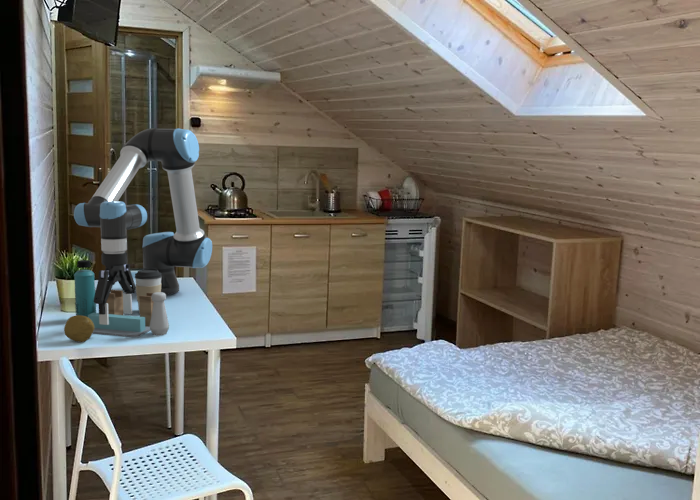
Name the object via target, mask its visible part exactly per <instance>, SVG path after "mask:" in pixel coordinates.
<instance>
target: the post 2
mask: <svg viewBox="0 0 700 500" xmlns="http://www.w3.org/2000/svg"><path fill="white" fill-rule="evenodd" d="M152 294H153V293H147V296H139V305H140V313H139V317H145V326H147V327H150V322H151V316H152V310H153V304H154V301H152Z"/></svg>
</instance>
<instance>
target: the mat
mask: <svg viewBox="0 0 700 500" xmlns="http://www.w3.org/2000/svg"><path fill="white" fill-rule="evenodd" d="M148 332H149V333H150V332H151V330H150V327H147V326H145V330H144V331H142V332H134V331H123V330H112V329H101V328H94V331H93V333H92V334H99V335H106V336H108V335H109V336H117V335H118V337H129V338H130V337H131V338H139V337H141V336H143V335H145V334H147V333H148Z"/></svg>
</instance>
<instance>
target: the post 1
mask: <svg viewBox="0 0 700 500" xmlns="http://www.w3.org/2000/svg"><path fill="white" fill-rule="evenodd" d="M123 294H124V291H123V289H122V290H119V289H111V291H110V294H109V297H108V299H107V302H106V303H108V314H114V315H125V314H123ZM103 300H104V299H103Z"/></svg>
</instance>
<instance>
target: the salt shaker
mask: <svg viewBox="0 0 700 500" xmlns="http://www.w3.org/2000/svg"><path fill="white" fill-rule="evenodd" d="M166 300H167V295H166V294H165V293H163V292H156V293H153V294H152V301H154V304H153V310H152V316H151V322H150V330H151V331H150V332H151V334H152V335H153V336H158V337H159V336H165V335H167V333H168V330H169V328H170V325H169V320H168V314H167V309H166V304H165V301H166Z"/></svg>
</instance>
